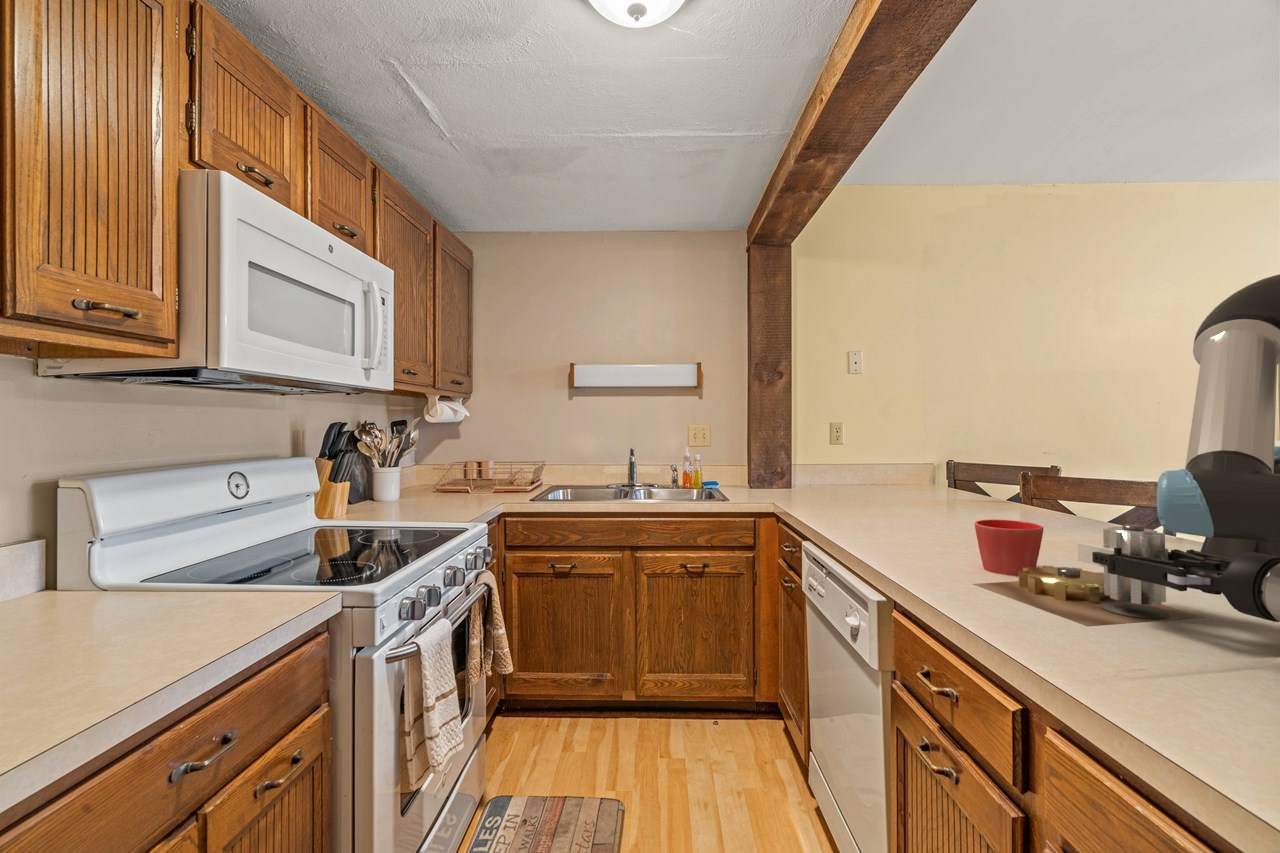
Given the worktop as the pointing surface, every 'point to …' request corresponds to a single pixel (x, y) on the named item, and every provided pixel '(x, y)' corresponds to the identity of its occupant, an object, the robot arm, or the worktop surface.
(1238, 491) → the robot arm
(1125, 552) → the grey pinion
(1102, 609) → the gear board
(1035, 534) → the flower pot
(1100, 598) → the brass gear
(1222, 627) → the worktop surface
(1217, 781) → the worktop surface
